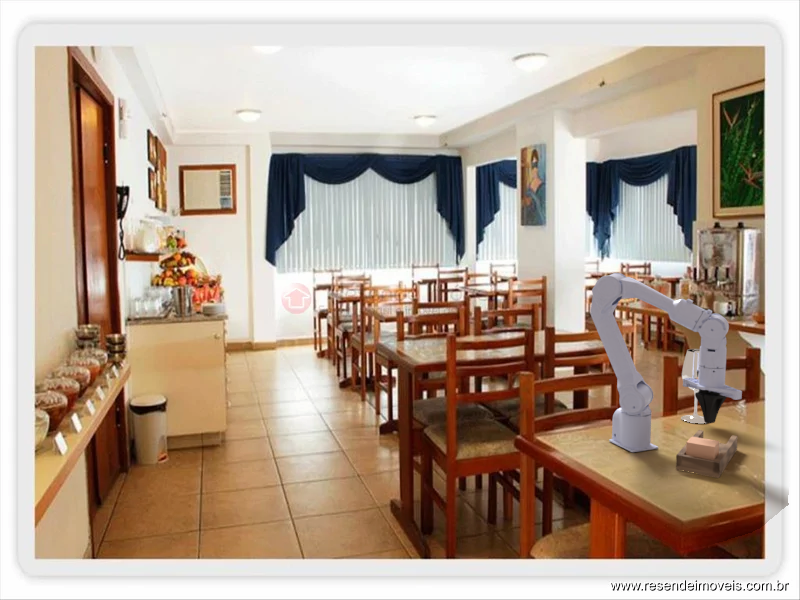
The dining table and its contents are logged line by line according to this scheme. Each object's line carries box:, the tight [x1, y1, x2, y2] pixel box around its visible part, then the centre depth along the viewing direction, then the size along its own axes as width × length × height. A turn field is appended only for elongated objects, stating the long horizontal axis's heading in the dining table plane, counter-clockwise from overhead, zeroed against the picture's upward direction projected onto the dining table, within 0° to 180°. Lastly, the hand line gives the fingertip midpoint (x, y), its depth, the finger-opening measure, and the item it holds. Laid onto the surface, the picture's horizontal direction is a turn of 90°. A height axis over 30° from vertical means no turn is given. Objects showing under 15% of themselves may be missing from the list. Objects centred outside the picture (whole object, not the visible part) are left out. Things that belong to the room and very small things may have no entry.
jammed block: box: [685, 436, 720, 460], centre depth 155 cm, size 5×6×5 cm
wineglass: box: [680, 348, 707, 425], centre depth 190 cm, size 8×8×20 cm
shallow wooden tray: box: [675, 429, 738, 479], centre depth 160 cm, size 22×9×4 cm, turn 144°
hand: (709, 422), depth 160 cm, fingers closed
